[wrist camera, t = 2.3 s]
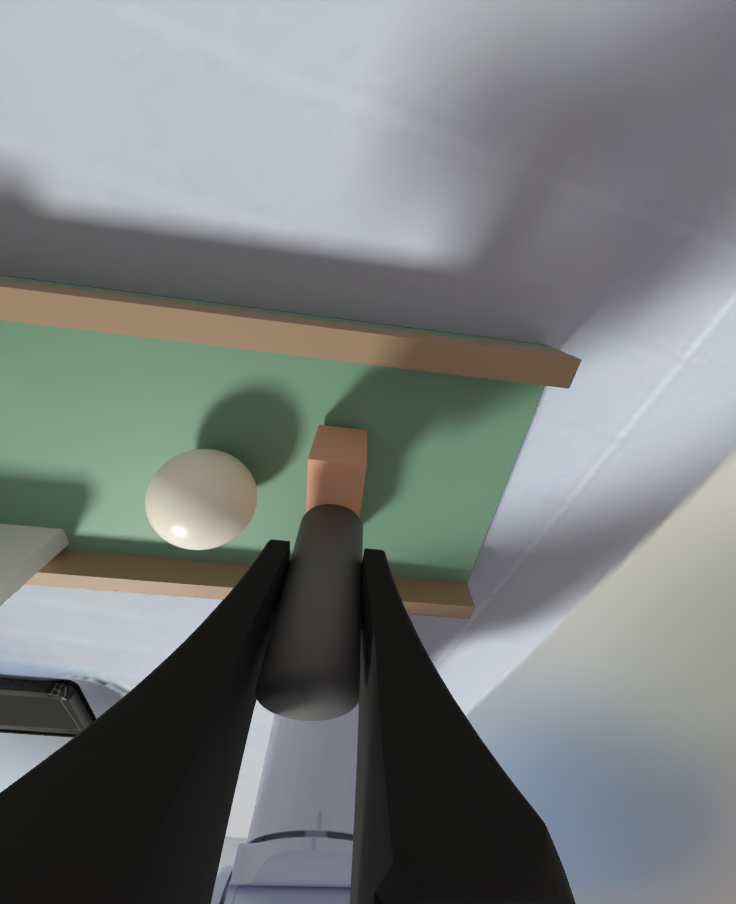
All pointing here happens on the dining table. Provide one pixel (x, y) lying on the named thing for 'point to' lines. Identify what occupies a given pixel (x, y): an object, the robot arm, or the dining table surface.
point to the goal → (25, 554)
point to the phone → (43, 707)
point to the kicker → (321, 590)
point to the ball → (201, 499)
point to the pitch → (252, 432)
